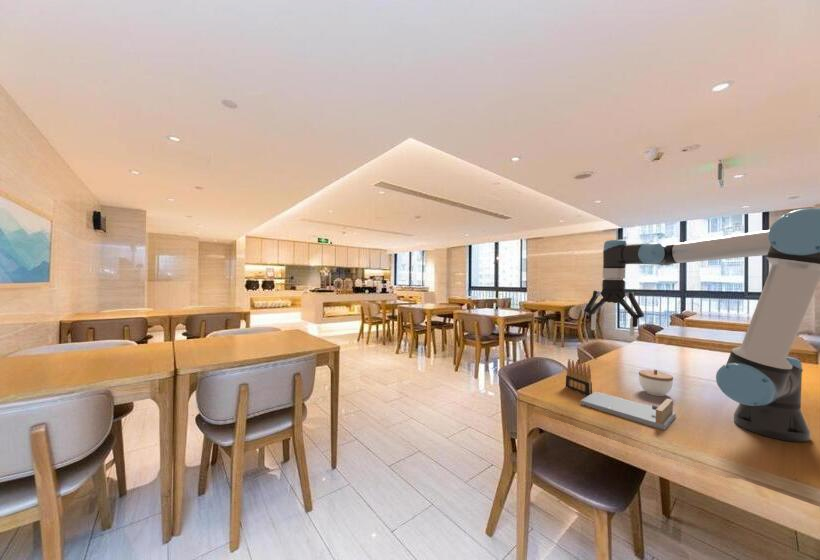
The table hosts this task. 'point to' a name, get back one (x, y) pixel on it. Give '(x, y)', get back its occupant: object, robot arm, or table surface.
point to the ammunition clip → (579, 378)
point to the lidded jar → (655, 382)
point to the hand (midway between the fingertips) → (611, 332)
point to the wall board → (633, 409)
